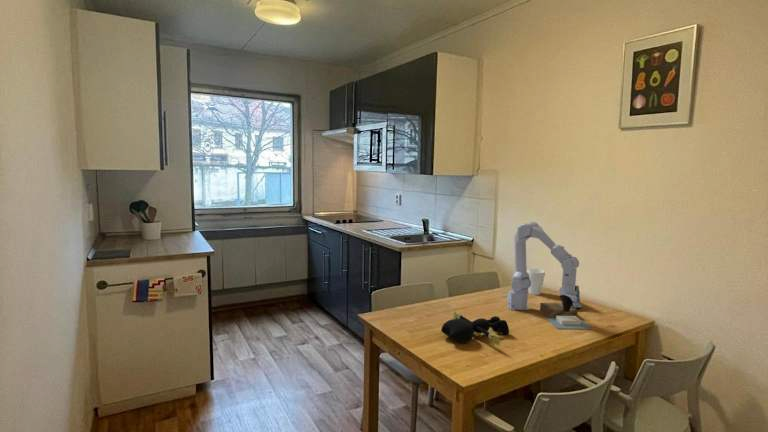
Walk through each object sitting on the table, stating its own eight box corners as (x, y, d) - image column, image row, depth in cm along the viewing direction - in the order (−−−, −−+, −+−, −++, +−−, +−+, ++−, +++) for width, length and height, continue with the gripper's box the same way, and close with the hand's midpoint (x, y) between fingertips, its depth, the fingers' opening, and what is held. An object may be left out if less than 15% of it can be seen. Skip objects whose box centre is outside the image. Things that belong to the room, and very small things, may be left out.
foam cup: (525, 289, 249) (527, 268, 248) (542, 291, 247) (544, 269, 245) (526, 294, 240) (528, 272, 239) (544, 296, 238) (545, 273, 236)
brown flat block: (547, 317, 205) (548, 309, 204) (539, 310, 215) (540, 302, 214) (576, 318, 205) (577, 310, 205) (567, 311, 215) (568, 303, 214)
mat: (557, 328, 191) (557, 328, 191) (546, 318, 204) (546, 317, 204) (593, 329, 192) (593, 328, 192) (579, 318, 205) (579, 318, 205)
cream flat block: (556, 315, 202) (555, 319, 202) (561, 320, 196) (561, 324, 196) (575, 315, 202) (574, 319, 202) (581, 320, 196) (580, 324, 196)
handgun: (567, 311, 233) (565, 289, 236) (582, 308, 215) (579, 284, 219) (560, 311, 233) (558, 289, 236) (575, 307, 215) (572, 284, 219)
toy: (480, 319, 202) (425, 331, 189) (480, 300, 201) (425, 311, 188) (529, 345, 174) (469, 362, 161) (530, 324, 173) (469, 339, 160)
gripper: (584, 287, 192) (582, 316, 193) (570, 278, 206) (568, 306, 208) (569, 287, 192) (566, 316, 193) (555, 278, 206) (553, 305, 208)
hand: (566, 311), depth 201 cm, fingers closed
